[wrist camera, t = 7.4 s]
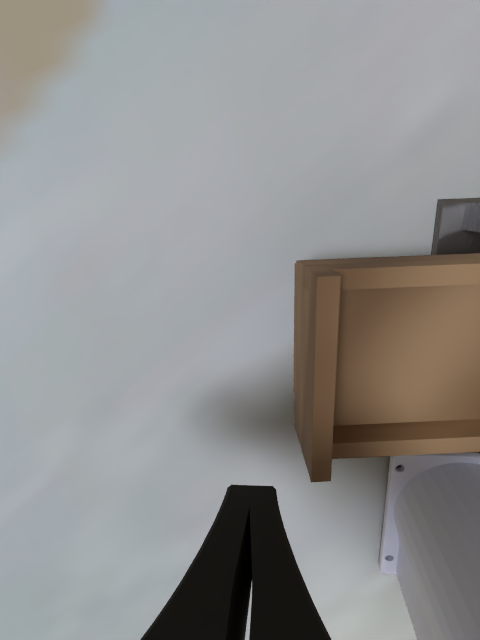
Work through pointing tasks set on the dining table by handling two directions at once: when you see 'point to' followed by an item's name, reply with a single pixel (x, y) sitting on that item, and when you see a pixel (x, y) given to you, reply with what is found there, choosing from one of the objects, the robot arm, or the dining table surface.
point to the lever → (386, 357)
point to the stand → (457, 227)
